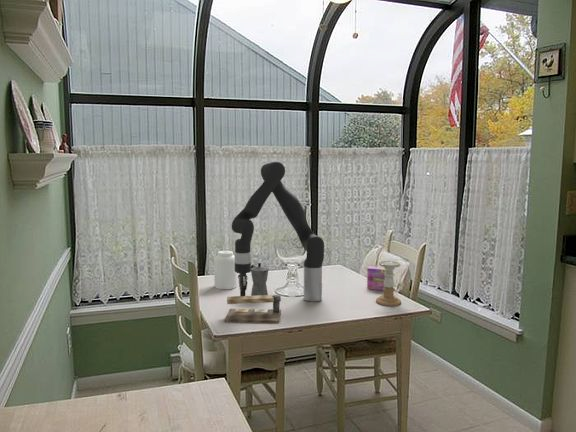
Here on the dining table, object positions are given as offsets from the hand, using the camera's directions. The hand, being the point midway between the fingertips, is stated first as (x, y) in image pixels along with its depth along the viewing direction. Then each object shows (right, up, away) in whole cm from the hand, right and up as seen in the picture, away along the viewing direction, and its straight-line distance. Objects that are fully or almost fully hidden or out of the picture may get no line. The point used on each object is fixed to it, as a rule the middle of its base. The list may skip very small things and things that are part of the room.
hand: (242, 297), depth 226 cm
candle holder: (+71, -6, +18) cm, 74 cm away
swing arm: (+5, -1, -3) cm, 6 cm away
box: (+70, -2, +43) cm, 82 cm away
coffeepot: (+6, -4, +26) cm, 27 cm away
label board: (+5, -8, -5) cm, 11 cm away
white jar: (-14, -2, +44) cm, 46 cm away
